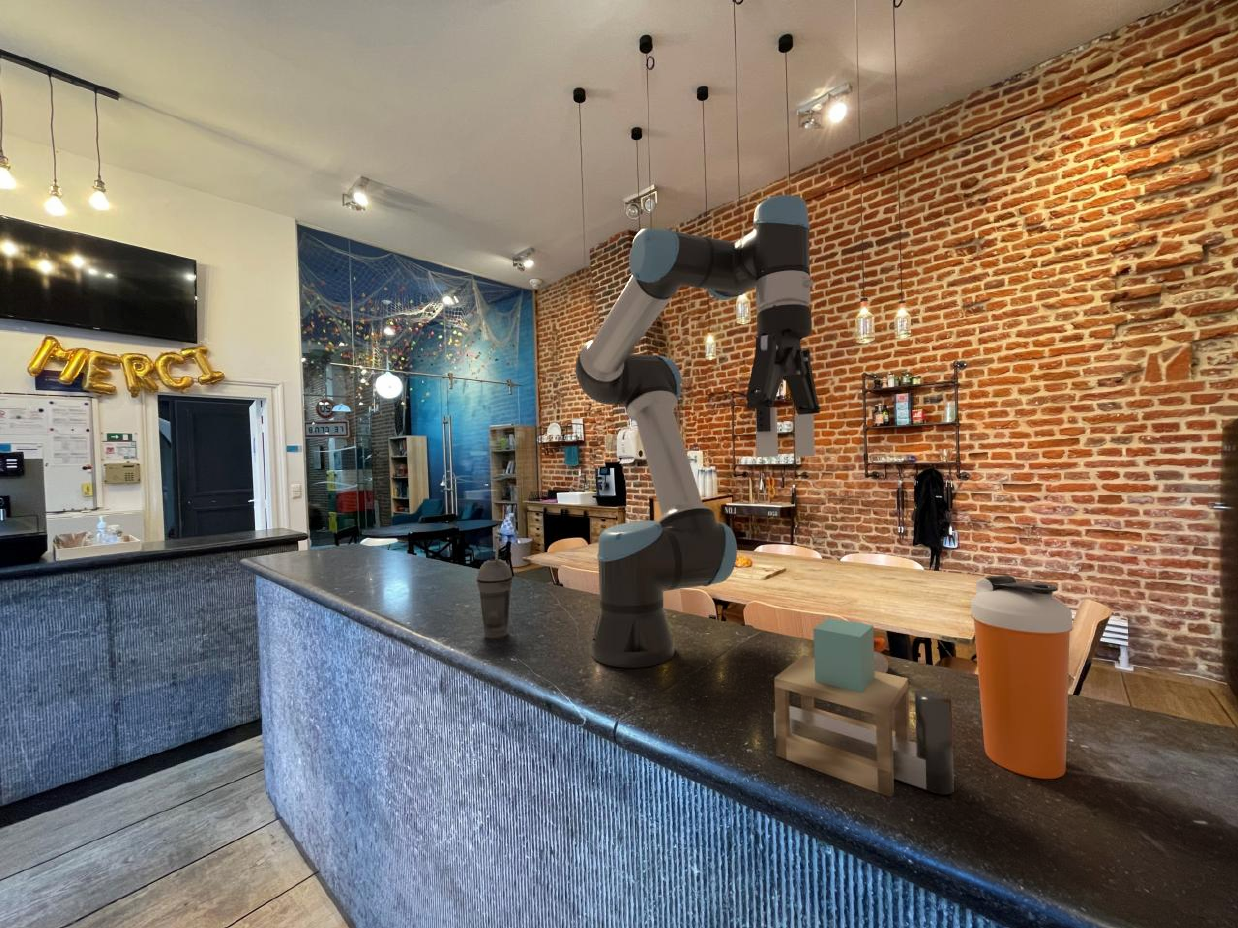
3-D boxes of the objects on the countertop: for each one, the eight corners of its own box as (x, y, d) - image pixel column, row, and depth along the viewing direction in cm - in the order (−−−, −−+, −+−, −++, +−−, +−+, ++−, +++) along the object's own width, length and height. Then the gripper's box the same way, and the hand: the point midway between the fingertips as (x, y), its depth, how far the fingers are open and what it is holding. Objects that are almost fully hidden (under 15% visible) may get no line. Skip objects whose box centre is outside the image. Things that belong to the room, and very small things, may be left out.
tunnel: (776, 755, 59) (774, 677, 59) (805, 724, 66) (803, 654, 66) (891, 797, 51) (888, 707, 51) (910, 757, 58) (907, 678, 58)
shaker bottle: (1047, 794, 51) (1041, 594, 51) (957, 750, 59) (952, 577, 59) (1095, 771, 54) (1089, 584, 55) (1004, 732, 63) (999, 569, 63)
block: (815, 681, 58) (813, 628, 58) (829, 667, 62) (828, 617, 62) (862, 693, 55) (860, 637, 55) (874, 677, 58) (873, 625, 58)
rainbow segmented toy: (897, 682, 78) (895, 634, 78) (829, 678, 80) (828, 631, 80) (882, 661, 86) (881, 618, 86) (821, 658, 88) (820, 616, 88)
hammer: (773, 737, 62) (771, 664, 62) (784, 727, 65) (782, 656, 65) (951, 798, 50) (948, 707, 50) (956, 782, 53) (953, 695, 53)
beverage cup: (498, 626, 110) (495, 534, 110) (521, 632, 106) (519, 536, 106) (470, 636, 104) (467, 538, 104) (494, 643, 100) (491, 541, 100)
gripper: (771, 281, 62) (776, 456, 61) (838, 321, 81) (842, 455, 80) (716, 295, 66) (721, 458, 66) (791, 331, 85) (795, 457, 85)
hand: (787, 457), depth 73 cm, fingers open, 13 cm apart
